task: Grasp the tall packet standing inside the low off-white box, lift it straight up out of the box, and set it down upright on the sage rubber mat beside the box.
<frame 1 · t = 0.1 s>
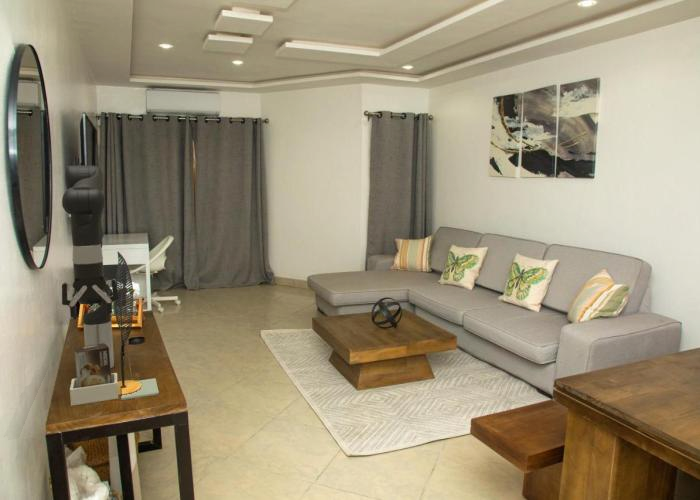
hand: (91, 317, 152), 29 cm above the table, tool pointing down, fingers open, 8 cm apart
open box: (95, 396, 169), on the table
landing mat: (139, 389, 174), on the table
coffee box: (95, 396, 169), resting in open box
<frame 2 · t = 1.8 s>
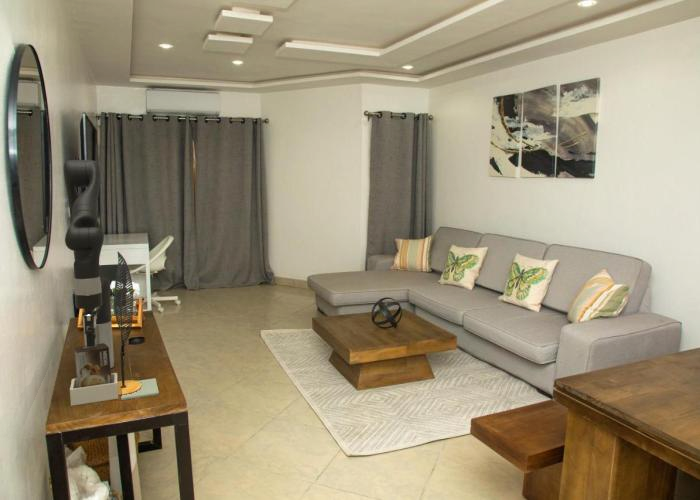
hand: (91, 342, 167), 17 cm above the table, tool pointing down, fingers open, 8 cm apart
nothing on the table moved.
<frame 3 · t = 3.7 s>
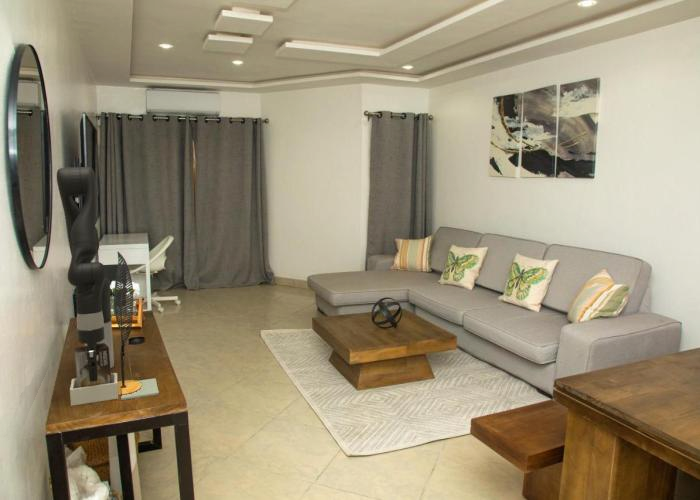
hand: (94, 376, 168), 6 cm above the table, tool pointing down, fingers closed on coffee box, 7 cm apart
coffee box: (95, 396, 169), resting in open box, touching gripper
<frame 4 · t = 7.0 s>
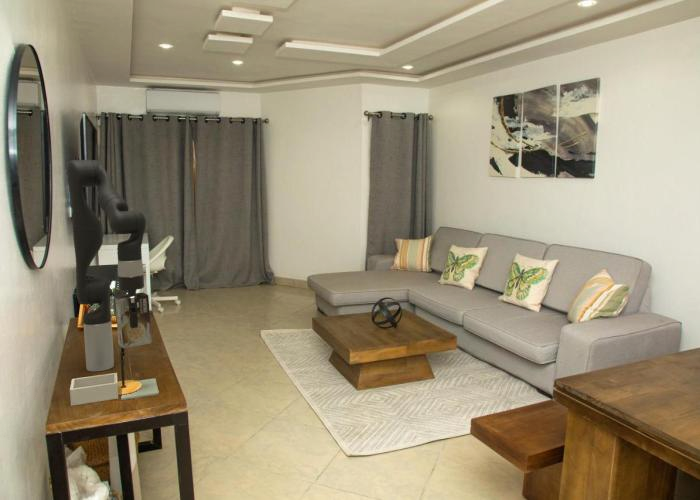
hand: (133, 324, 171), 22 cm above the table, tool pointing down, fingers closed on coffee box, 7 cm apart
coffee box: (134, 344, 172), point 15 cm above the table, touching gripper
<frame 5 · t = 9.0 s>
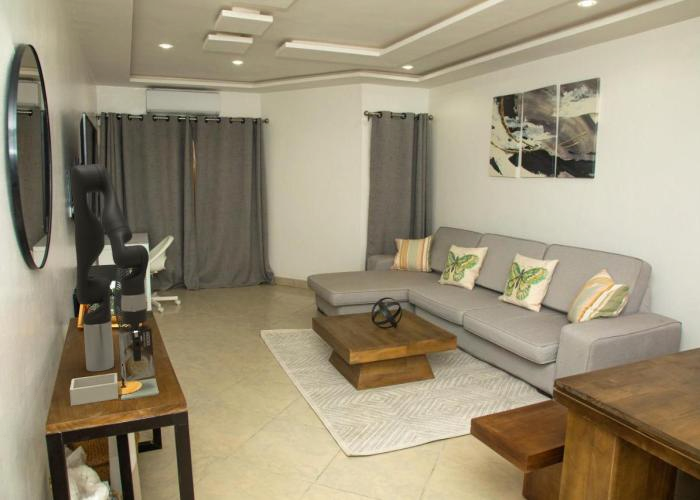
hand: (137, 357, 173), 11 cm above the table, tool pointing down, fingers closed on coffee box, 7 cm apart
coffee box: (138, 376, 173), point 4 cm above the table, touching gripper
when the fingers open (8 cm above the table, at t = 10.6 s): coffee box drops 1 cm, resting on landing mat.
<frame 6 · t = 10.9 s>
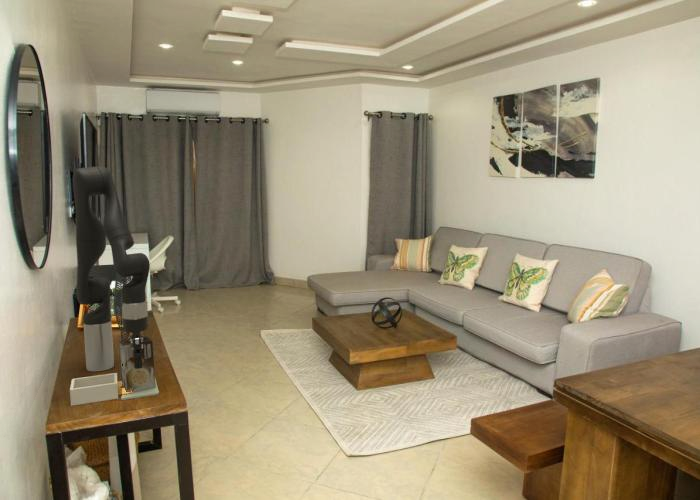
hand: (137, 364, 173), 9 cm above the table, tool pointing down, fingers open, 8 cm apart
coffee box: (139, 388, 174), resting on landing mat
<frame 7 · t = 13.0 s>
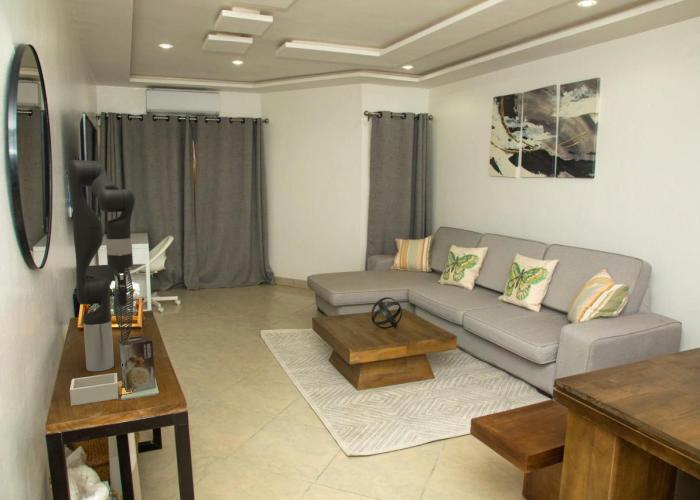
hand: (122, 301, 173), 29 cm above the table, tool pointing down, fingers open, 8 cm apart
nothing on the table moved.
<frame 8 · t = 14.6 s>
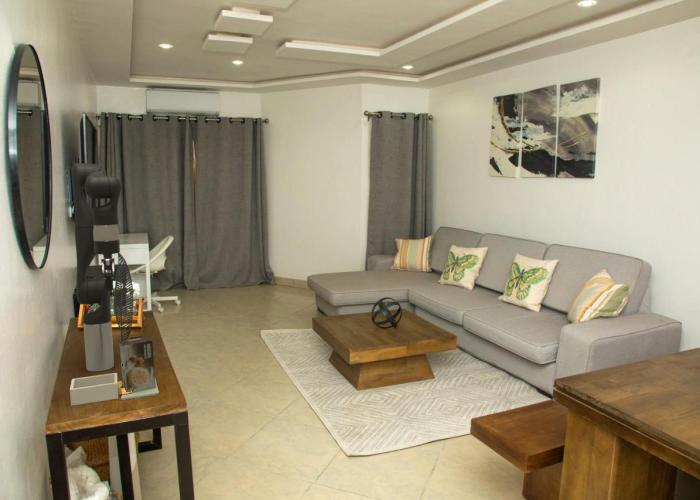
hand: (109, 288, 174), 33 cm above the table, tool pointing down, fingers open, 8 cm apart
nothing on the table moved.
at the end: coffee box inside the target area on the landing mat (0.1 cm from its centre), point 0.4 cm above the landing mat's base; coffee box tilted 0°; the gripper is holding nothing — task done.
